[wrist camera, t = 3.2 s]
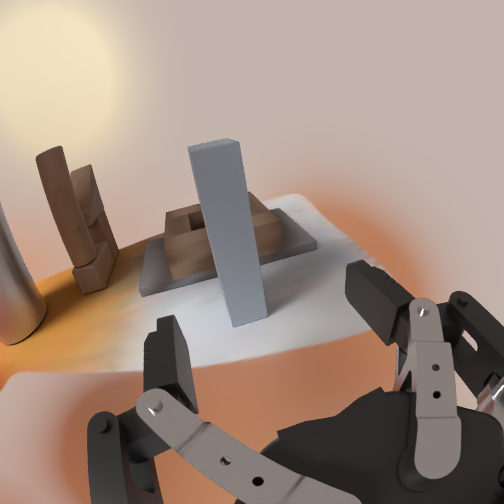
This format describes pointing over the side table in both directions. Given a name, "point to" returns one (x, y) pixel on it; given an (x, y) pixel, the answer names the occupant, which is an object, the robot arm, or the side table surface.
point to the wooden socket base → (199, 251)
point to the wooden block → (79, 219)
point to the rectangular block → (229, 227)
